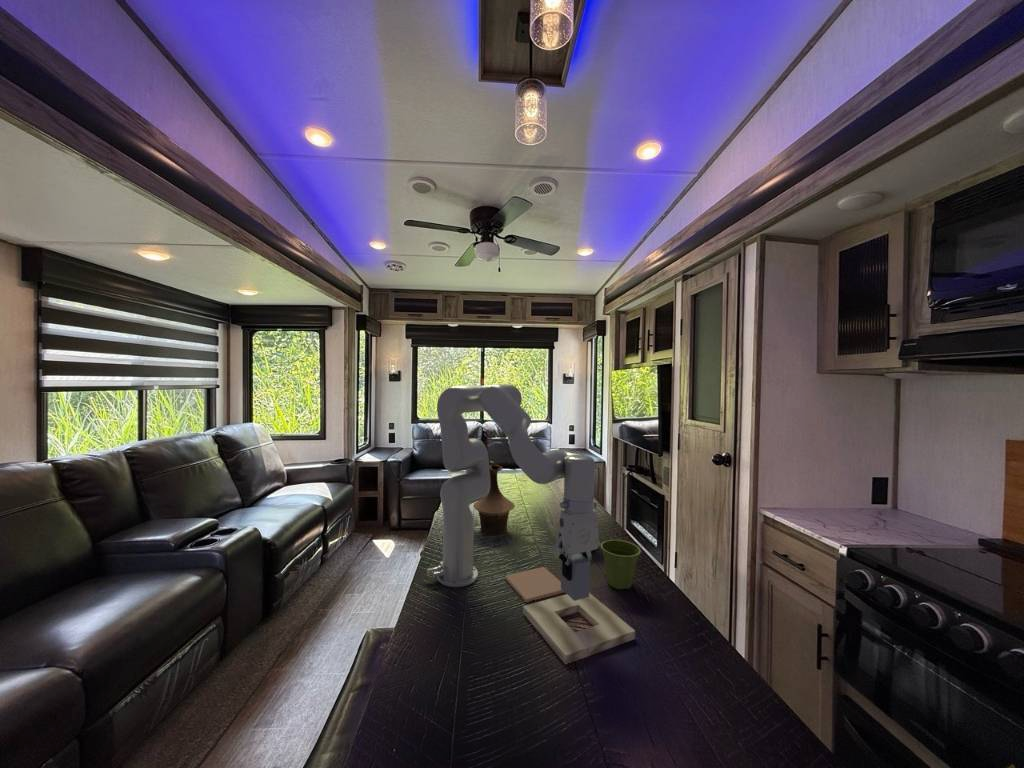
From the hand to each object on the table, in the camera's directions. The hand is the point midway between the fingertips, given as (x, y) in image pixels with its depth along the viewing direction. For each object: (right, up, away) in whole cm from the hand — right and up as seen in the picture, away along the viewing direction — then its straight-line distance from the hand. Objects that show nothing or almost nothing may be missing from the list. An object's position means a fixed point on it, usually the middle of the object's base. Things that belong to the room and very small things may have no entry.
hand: (575, 575), depth 97 cm
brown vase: (-24, -12, +60) cm, 66 cm away
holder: (0, -13, 0) cm, 13 cm away
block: (0, -4, 0) cm, 4 cm away
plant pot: (+17, -13, +20) cm, 29 cm away
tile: (-9, -12, +19) cm, 24 cm away
